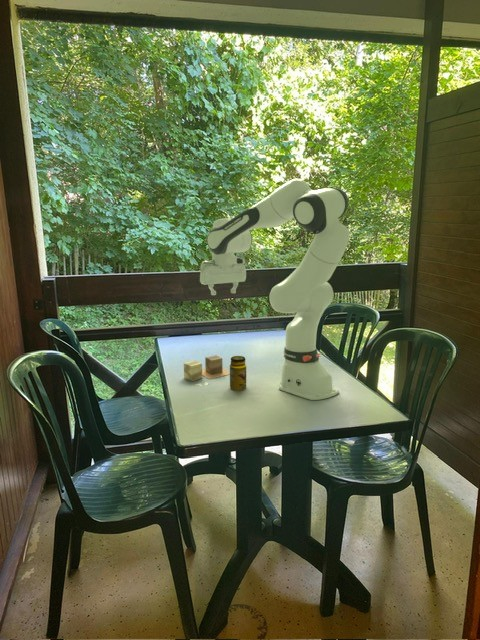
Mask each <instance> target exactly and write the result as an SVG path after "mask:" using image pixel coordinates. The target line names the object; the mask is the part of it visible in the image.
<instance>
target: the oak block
mask: <svg viewBox="0 0 480 640" xmlns="http://www.w3.org/2000/svg"><path fill="white" fill-rule="evenodd" d="M202 370H203V364H202V362H199V361H196V360H190V361H188V362H183V378H184V379H185V380H188V381H190V382H194V381H197V380H200V379H203V376H202Z"/></svg>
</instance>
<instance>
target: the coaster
mask: <svg viewBox="0 0 480 640" xmlns="http://www.w3.org/2000/svg"><path fill="white" fill-rule="evenodd" d="M222 369H223V373H218V374H214V375H211V374H209V373H207V372H206V368H205V369H204V368H202V377H204V378H206V379H208V380H212V379H217V378H221V377H225V376H230V370H227V369H225V368H224V367H222Z"/></svg>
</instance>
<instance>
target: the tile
mask: <svg viewBox="0 0 480 640" xmlns="http://www.w3.org/2000/svg"><path fill="white" fill-rule="evenodd" d="M198 385H199V386H200V387H202V386H203V385H202V383H196V384H195V386H198ZM208 385H209V383H208V382H204V386H208Z"/></svg>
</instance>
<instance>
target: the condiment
mask: <svg viewBox="0 0 480 640" xmlns="http://www.w3.org/2000/svg"><path fill="white" fill-rule="evenodd" d="M229 372H230V375H229V387H230V390H232V391H237V392H238V391H239V392H240V391H243V390H244V391H245V390H246V388H247V364H246V357H245V356H243V355H235V356H234V355H233V356H231V357H230V364H229Z"/></svg>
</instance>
